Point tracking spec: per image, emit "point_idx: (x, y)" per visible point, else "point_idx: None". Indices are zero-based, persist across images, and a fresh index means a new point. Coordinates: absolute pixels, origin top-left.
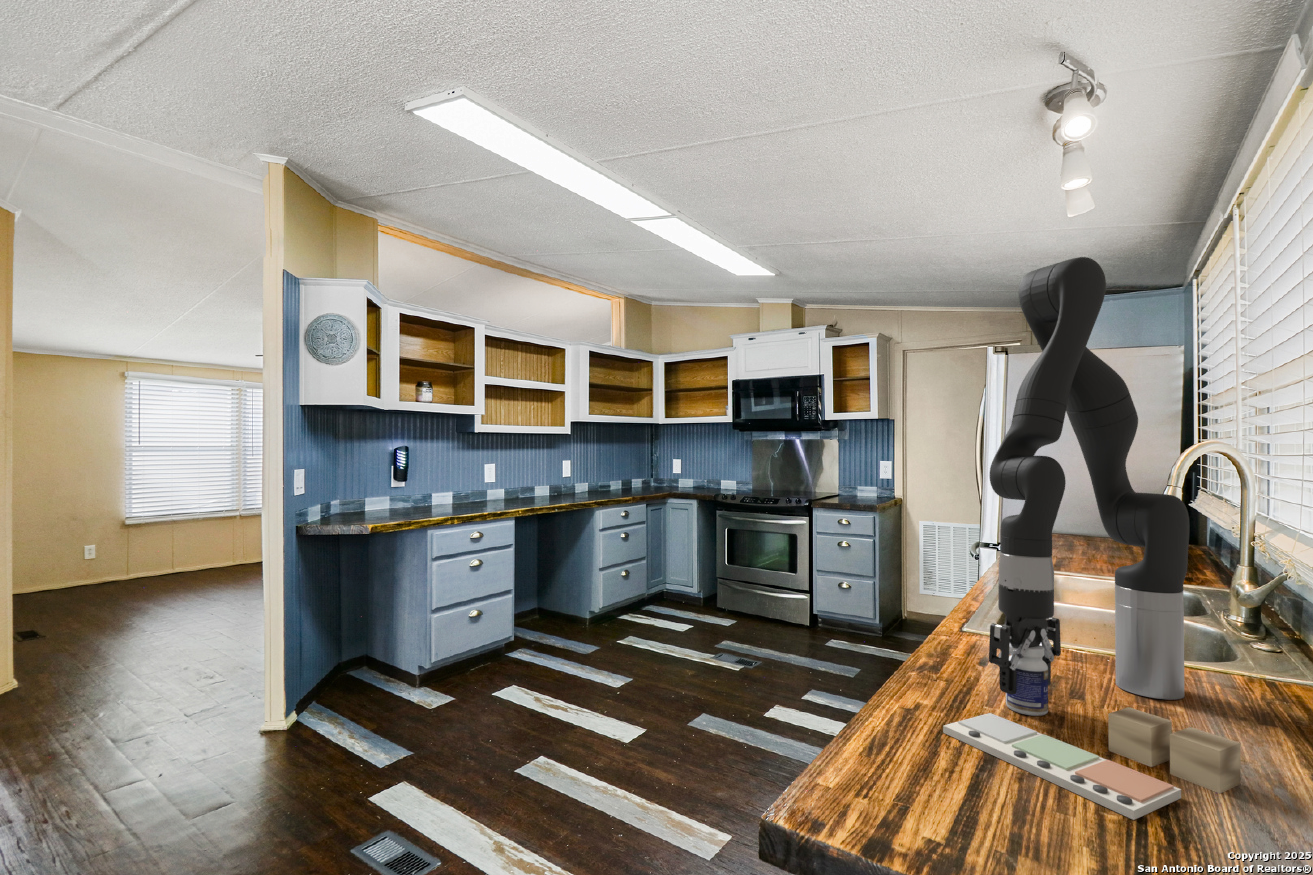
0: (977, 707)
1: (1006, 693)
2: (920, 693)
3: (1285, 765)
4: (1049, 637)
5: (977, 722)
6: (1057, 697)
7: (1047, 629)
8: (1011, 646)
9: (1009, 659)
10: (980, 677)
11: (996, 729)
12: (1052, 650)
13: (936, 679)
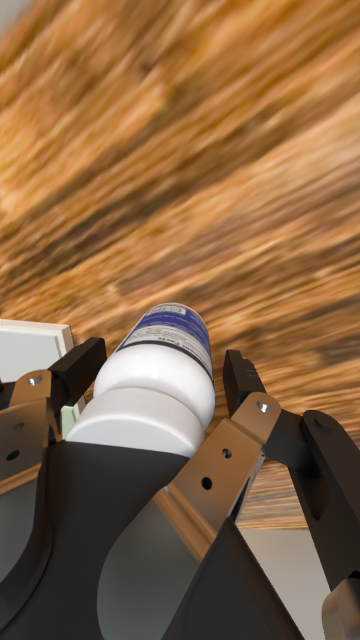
0: (95, 281)
1: (139, 320)
2: (28, 148)
3: (264, 523)
4: (326, 532)
5: (5, 346)
6: (298, 334)
7: (325, 629)
8: (70, 430)
9: (101, 378)
10: (303, 132)
11: (17, 373)
12: (288, 464)
13: (155, 64)
